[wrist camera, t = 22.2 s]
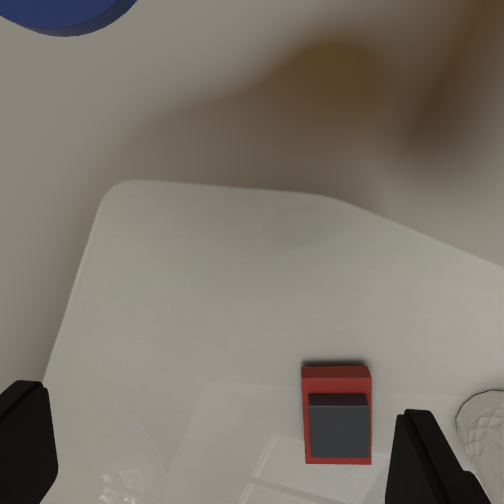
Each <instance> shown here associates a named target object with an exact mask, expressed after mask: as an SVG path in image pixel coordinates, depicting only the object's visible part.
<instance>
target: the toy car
mask: <svg viewBox="0 0 504 504" xmlns="http://www.w3.org/2000/svg"><path fill="white" fill-rule="evenodd" d="M301 376H302V397H303V418H304V439H305V460H306V464H358V465H371V375H370V372H369V370H368V367H367V366H307V367H301Z"/></svg>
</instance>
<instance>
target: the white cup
mask: <svg viewBox="0 0 504 504" xmlns="http://www.w3.org/2000/svg"><path fill="white" fill-rule="evenodd" d="M456 424H457V433H458V435H459V437H460V439H461V441H462V443H463V445H464V446H465V448H466V450H467V453H468V456H469V458H470V461H471V463H472V465H473V467H474V469H475V471H476V473H477V475H478V477H479V479H480V481H481V483H482V485H483V487H484V489H485V491H486V493H487V495H488V497H489V499H490V501H491V503H492V504H504V392H503V391H488V392H484V393H481V394H478V395H475V396H473V397H472V398H471V399H470V400H468V401H467V402H466V403H465V404H463V405H462V407H461V409H460V411H459V413H458V416H457V418H456Z"/></svg>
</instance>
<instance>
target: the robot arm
mask: <svg viewBox="0 0 504 504" xmlns="http://www.w3.org/2000/svg"><path fill="white" fill-rule="evenodd" d="M57 474H58V461H57V453H56V446H55V438H54V431H53V424H52V416H51V409H50V401H49V394H48V390H47V388H44V387H43V384H42V383H41V382H38V381H25V380H18V381H16V382H14V383H13V384H12V385H10V386H9V387H8V388H7V389H6V390H5V391H4V392H2V393H1V394H0V504H40V502H41V501H42V499H43V498H44V496H45V495H46V493H47V492H48V490H49V489H50V488H51V486H52V485H53V483H54V481H55V479H56V477H57ZM385 504H491V502H490V500H489V499H488V497H487V495H486V493H485V492H484V490H483V488H482V486H481V485H480V483H479V481H478V480H477V478H476V477H475V475H474V474H473V473H471V472H470V471H463V469H462V468H461V466H460V464H459V462H458V460H457V458H456V456H455V455H454V453H453V451H452V449H451V447H450V445H449V444H448V442H447V440H446V438H445V436H444V434H443V433H442V431H441V429H440V427H439V425H438V423H437V421H436V420H435V418H434V416H433V414H432V413H431V411H429V410H415V409H406V410H405V412H404V415H402V414H399V415H398V416H397V419H396V426H395V433H394V439H393V446H392V453H391V460H390V467H389V473H388V480H387V487H386V494H385Z"/></svg>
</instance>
